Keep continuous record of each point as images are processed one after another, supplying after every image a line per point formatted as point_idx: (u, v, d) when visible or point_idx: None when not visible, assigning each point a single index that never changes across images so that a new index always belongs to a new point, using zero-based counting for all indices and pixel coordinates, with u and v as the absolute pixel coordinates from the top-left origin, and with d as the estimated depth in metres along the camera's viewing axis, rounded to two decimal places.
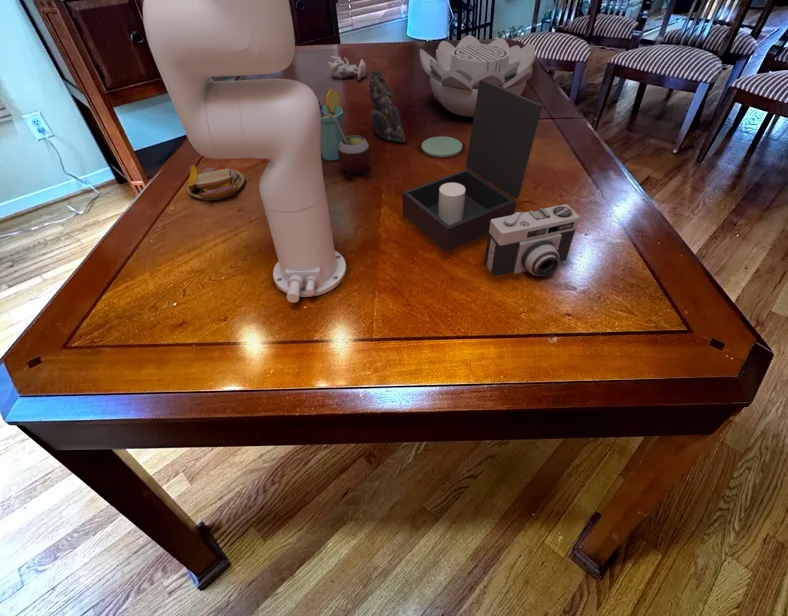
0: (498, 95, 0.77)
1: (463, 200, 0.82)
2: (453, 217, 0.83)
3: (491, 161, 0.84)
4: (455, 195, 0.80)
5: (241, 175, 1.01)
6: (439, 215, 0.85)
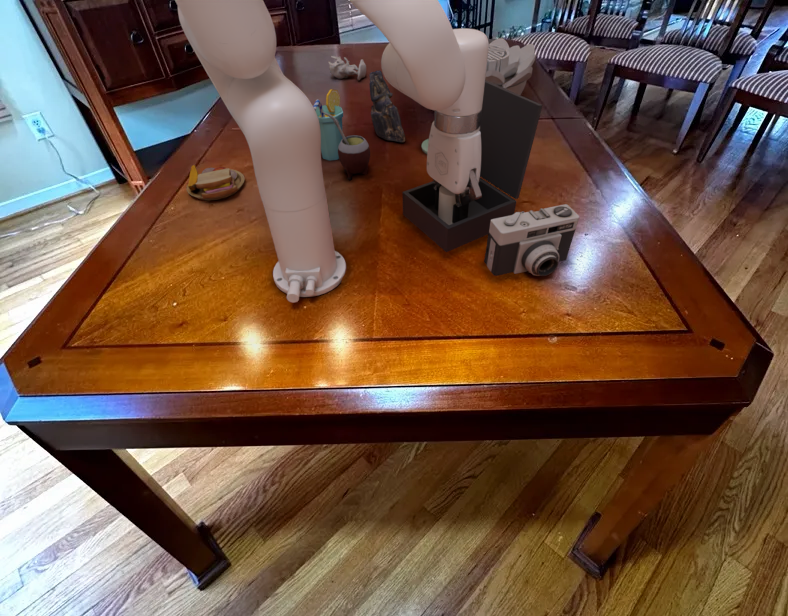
0: (498, 95, 0.77)
1: None
2: None
3: (491, 161, 0.84)
4: None
5: (241, 175, 1.01)
6: (439, 215, 0.85)
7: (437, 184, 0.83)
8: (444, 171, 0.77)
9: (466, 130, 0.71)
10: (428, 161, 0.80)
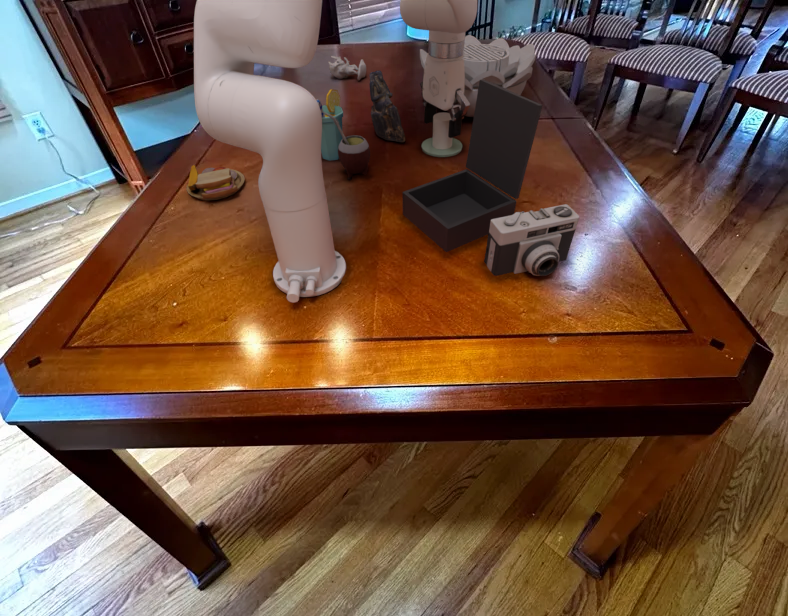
0: (498, 95, 0.77)
1: None
2: (444, 139, 1.07)
3: (491, 161, 0.84)
4: (445, 120, 1.04)
5: (241, 175, 1.01)
6: (433, 139, 1.08)
7: None
8: (436, 92, 0.99)
9: (452, 55, 0.93)
10: (424, 87, 1.02)
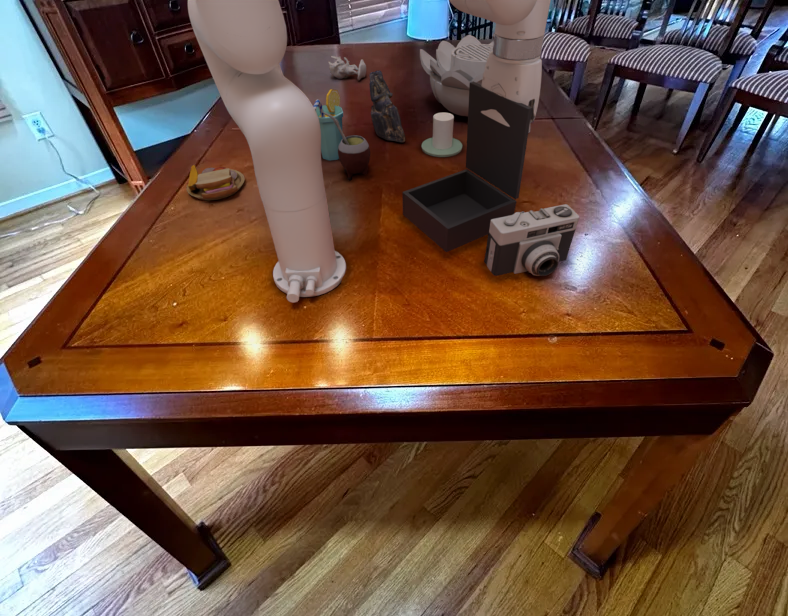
0: (488, 98, 0.76)
1: (452, 125, 1.05)
2: (444, 139, 1.07)
3: (488, 162, 0.84)
4: (445, 120, 1.04)
5: (241, 175, 1.01)
6: (433, 139, 1.08)
7: None
8: None
9: (528, 56, 0.68)
10: None
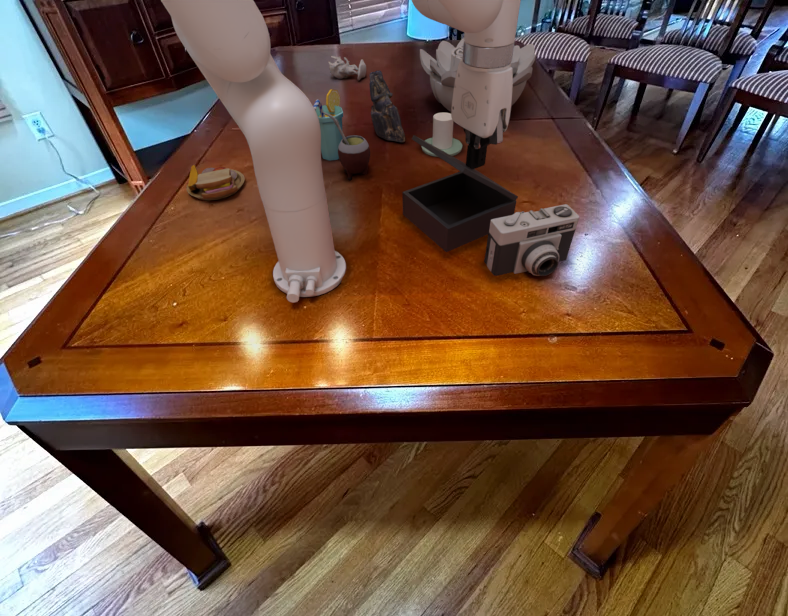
0: None
1: (452, 125, 1.05)
2: (444, 139, 1.07)
3: None
4: (445, 120, 1.04)
5: (241, 175, 1.01)
6: (433, 139, 1.08)
7: (470, 137, 0.77)
8: (471, 113, 0.73)
9: (498, 64, 0.66)
10: (453, 105, 0.76)
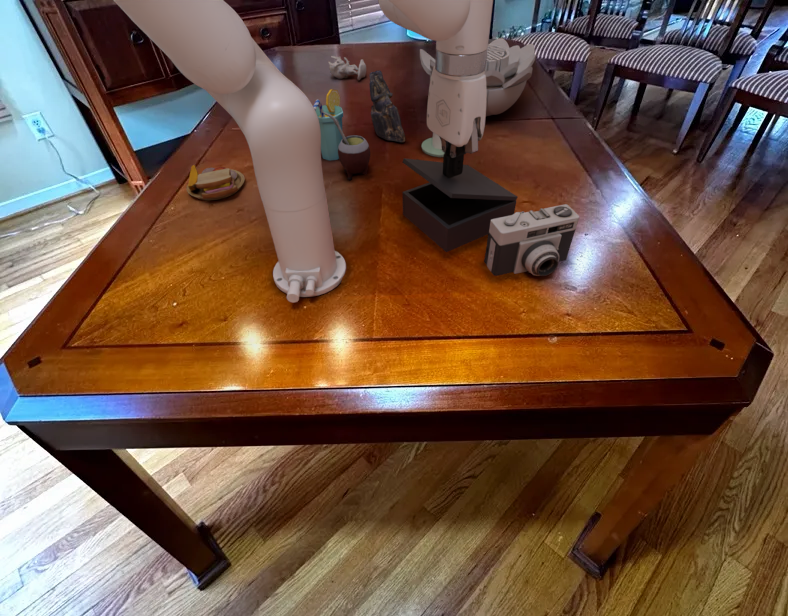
0: None
1: None
2: None
3: None
4: None
5: (241, 175, 1.01)
6: (433, 139, 1.08)
7: (446, 145, 0.76)
8: (446, 121, 0.71)
9: (470, 72, 0.64)
10: (428, 113, 0.74)
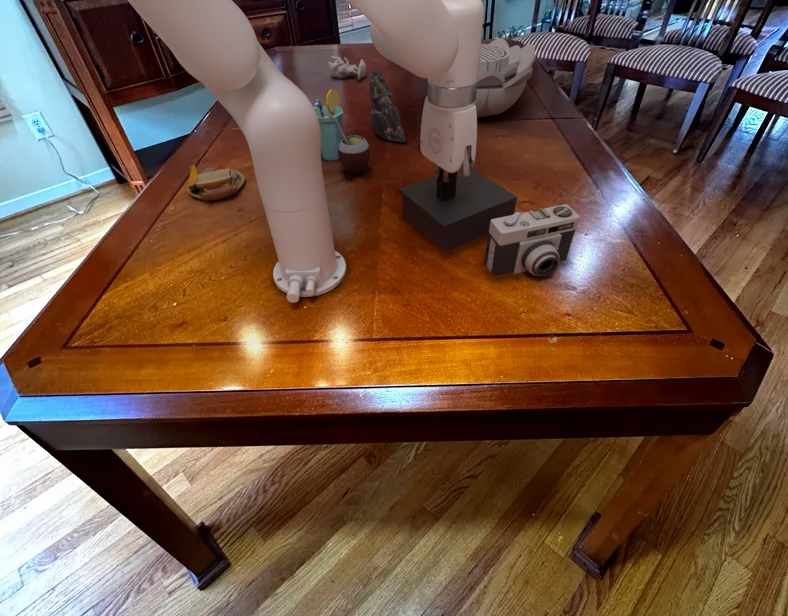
0: None
1: None
2: None
3: None
4: None
5: (241, 175, 1.01)
6: None
7: (439, 170, 0.78)
8: (438, 149, 0.73)
9: (461, 103, 0.67)
10: (422, 139, 0.77)
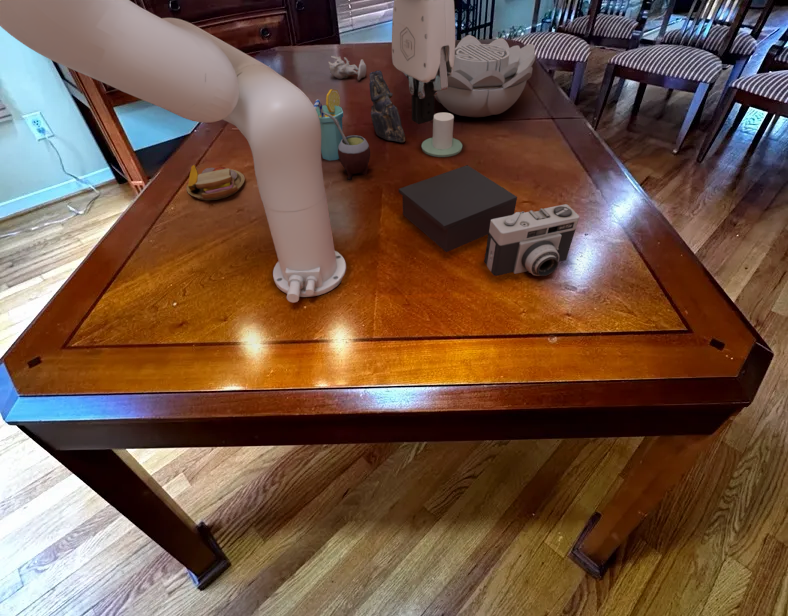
0: None
1: (452, 125, 1.05)
2: (444, 139, 1.07)
3: None
4: (445, 120, 1.04)
5: (241, 175, 1.01)
6: (433, 139, 1.08)
7: (413, 85, 0.68)
8: (411, 54, 0.63)
9: None
10: (393, 47, 0.66)
